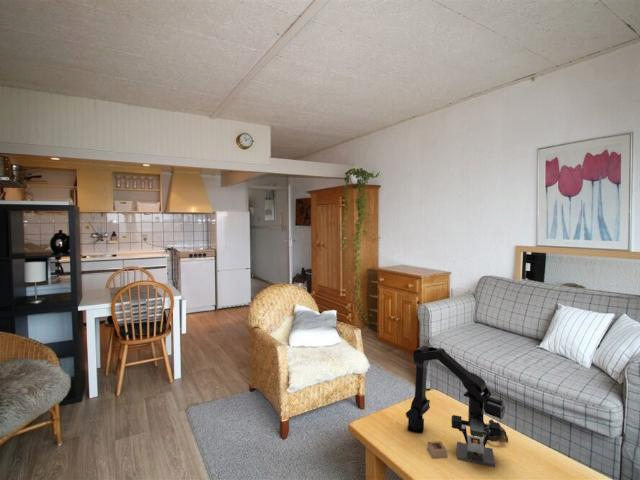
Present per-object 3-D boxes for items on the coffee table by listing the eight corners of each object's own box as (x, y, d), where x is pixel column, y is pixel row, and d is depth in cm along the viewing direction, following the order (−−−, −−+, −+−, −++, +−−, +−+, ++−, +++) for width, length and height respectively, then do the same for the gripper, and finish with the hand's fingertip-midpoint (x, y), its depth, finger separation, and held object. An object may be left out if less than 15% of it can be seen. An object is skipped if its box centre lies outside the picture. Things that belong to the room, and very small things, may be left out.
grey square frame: (467, 450, 145) (467, 443, 145) (467, 441, 150) (467, 435, 150) (483, 453, 143) (484, 446, 143) (482, 444, 148) (482, 437, 148)
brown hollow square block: (432, 458, 145) (433, 451, 145) (427, 448, 151) (427, 442, 151) (447, 457, 146) (447, 450, 146) (440, 447, 152) (440, 441, 152)
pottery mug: (514, 447, 152) (507, 434, 150) (492, 454, 154) (486, 441, 152) (501, 424, 163) (495, 412, 161) (481, 431, 165) (475, 419, 163)
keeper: (457, 459, 145) (457, 445, 144) (456, 444, 154) (457, 430, 153) (495, 467, 140) (495, 452, 139) (492, 451, 149) (492, 437, 149)
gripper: (452, 415, 141) (451, 452, 142) (504, 424, 135) (503, 463, 136) (451, 401, 151) (451, 436, 153) (500, 409, 145) (499, 445, 146)
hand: (475, 445), depth 147 cm, fingers closed on grey square frame, 6 cm apart
